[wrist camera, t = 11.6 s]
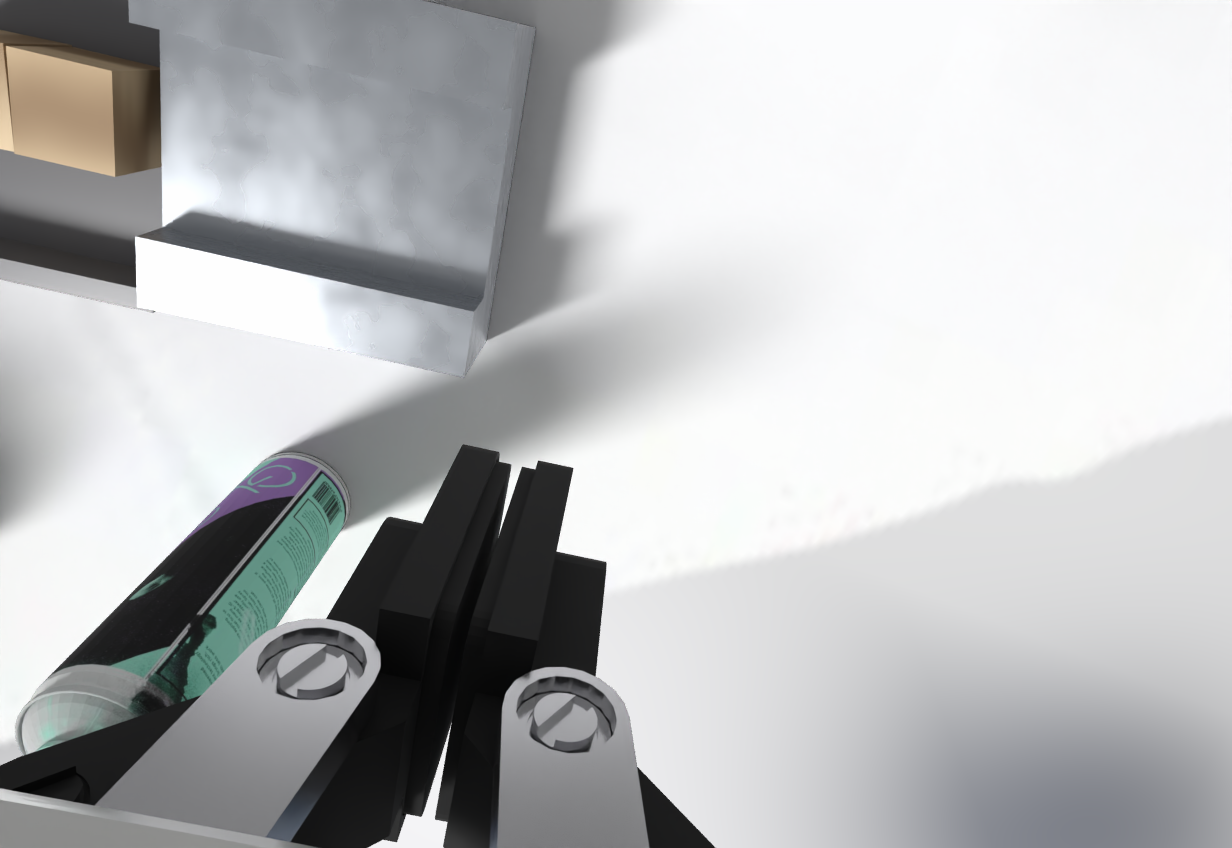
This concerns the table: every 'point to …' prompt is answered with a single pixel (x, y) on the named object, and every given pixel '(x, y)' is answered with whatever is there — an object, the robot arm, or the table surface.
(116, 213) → the tray
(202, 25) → the slot block
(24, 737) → the spray can
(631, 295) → the table surface
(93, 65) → the light brown cube
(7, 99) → the tan cardboard cube
